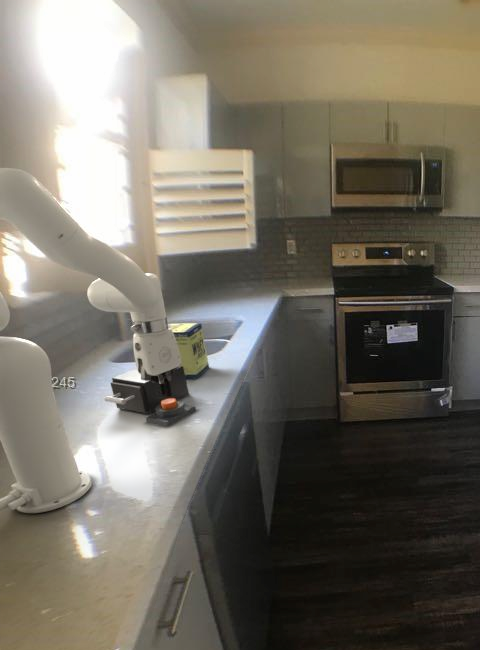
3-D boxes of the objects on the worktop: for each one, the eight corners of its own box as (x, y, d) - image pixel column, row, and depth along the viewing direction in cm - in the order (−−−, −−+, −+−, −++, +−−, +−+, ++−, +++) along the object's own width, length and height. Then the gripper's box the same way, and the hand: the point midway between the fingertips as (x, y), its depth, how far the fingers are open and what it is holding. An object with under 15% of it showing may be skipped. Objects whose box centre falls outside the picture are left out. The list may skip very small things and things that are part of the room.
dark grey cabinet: (151, 414, 122) (144, 383, 118) (119, 408, 126) (111, 378, 122) (189, 395, 133) (183, 365, 130) (159, 390, 137) (152, 361, 134)
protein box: (198, 378, 145) (188, 331, 139) (149, 379, 145) (138, 332, 139) (210, 367, 155) (202, 322, 149) (164, 368, 155) (155, 323, 149)
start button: (169, 410, 117) (168, 404, 116) (159, 408, 118) (157, 402, 117) (180, 405, 120) (179, 399, 119) (169, 403, 121) (168, 397, 120)
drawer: (132, 420, 117) (125, 394, 114) (103, 414, 120) (95, 388, 118) (181, 395, 131) (176, 371, 128) (153, 390, 135) (148, 367, 132)
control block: (167, 427, 115) (164, 415, 113) (146, 423, 117) (143, 411, 116) (196, 410, 123) (193, 400, 122) (176, 407, 126) (173, 396, 124)
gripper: (136, 334, 103) (152, 409, 109) (186, 320, 116) (197, 388, 122) (112, 332, 105) (129, 405, 112) (163, 318, 118) (176, 384, 125)
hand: (165, 396), depth 117 cm, fingers closed
